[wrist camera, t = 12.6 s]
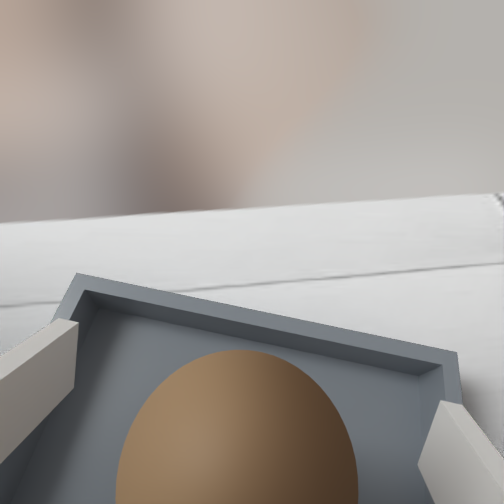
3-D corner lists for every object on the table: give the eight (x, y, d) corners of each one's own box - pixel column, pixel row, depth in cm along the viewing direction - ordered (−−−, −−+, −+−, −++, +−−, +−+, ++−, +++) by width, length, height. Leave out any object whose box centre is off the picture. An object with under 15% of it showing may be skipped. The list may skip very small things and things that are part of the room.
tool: (147, 533, 15) (-9, 663, 5) (187, 389, 18) (140, 291, 8) (284, 566, 15) (409, 772, 5) (300, 414, 18) (398, 344, 8)
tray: (-48, 610, 14) (-119, 647, 11) (96, 299, 22) (76, 272, 19) (446, 736, 14) (508, 812, 11) (423, 368, 21) (457, 352, 18)
